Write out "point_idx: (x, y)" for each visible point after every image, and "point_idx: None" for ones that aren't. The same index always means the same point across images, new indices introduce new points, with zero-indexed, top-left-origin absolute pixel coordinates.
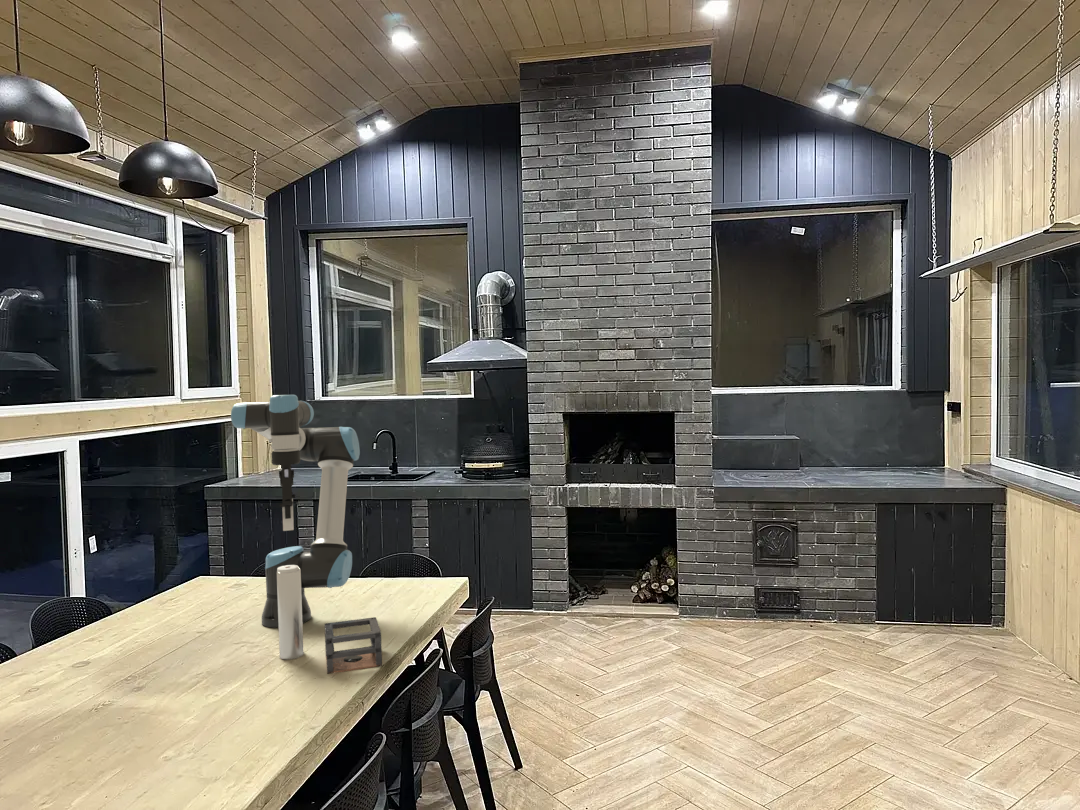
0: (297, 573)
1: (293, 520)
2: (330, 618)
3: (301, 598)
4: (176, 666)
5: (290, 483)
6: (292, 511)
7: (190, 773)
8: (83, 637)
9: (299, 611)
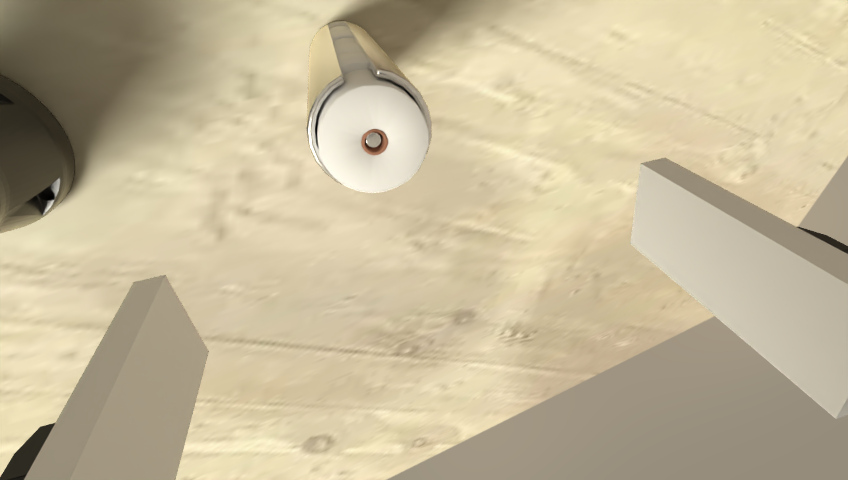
0: (405, 77)
1: (163, 281)
2: None
3: (361, 44)
4: (365, 302)
5: None
6: (842, 258)
7: (816, 122)
8: None
9: (376, 45)
